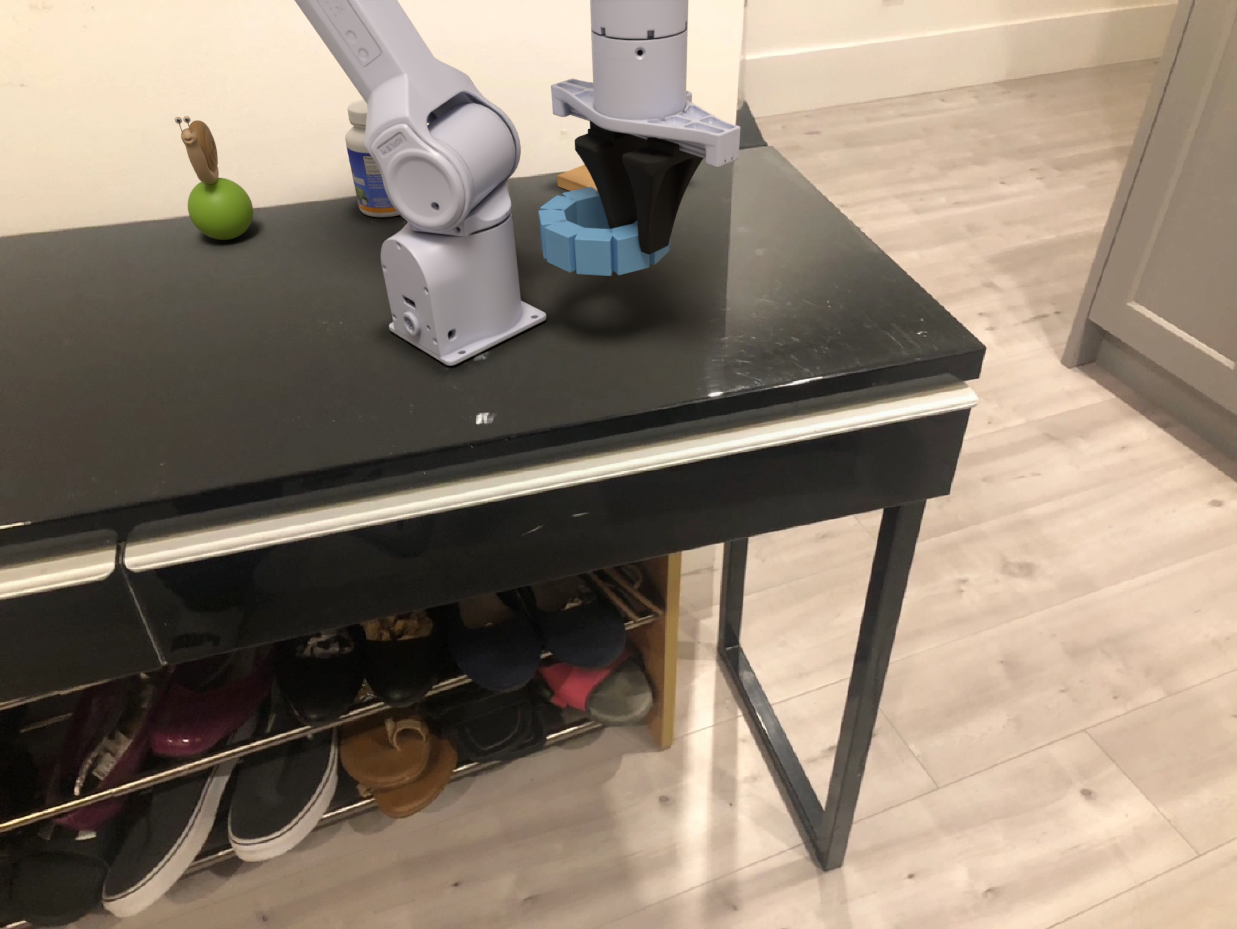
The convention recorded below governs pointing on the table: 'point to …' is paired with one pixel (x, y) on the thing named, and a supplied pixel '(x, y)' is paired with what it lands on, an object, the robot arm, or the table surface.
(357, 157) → the pill bottle
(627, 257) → the segmented ring
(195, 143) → the snail figurine
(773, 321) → the table surface
